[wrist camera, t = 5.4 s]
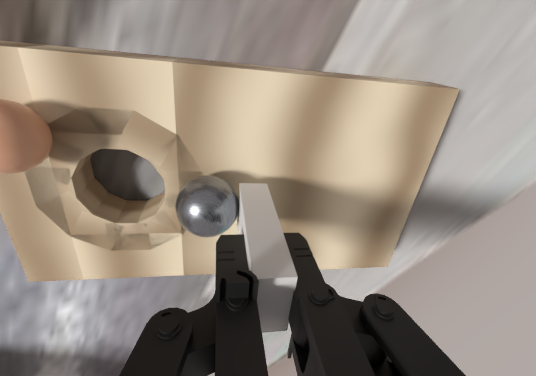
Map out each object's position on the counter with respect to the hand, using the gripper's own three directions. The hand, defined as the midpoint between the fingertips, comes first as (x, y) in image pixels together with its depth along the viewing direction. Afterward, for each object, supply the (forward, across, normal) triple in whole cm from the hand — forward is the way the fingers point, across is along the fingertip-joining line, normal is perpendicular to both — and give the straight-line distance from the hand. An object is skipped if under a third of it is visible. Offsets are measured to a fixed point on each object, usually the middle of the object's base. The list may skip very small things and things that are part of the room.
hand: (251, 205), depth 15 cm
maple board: (+4, -1, 0) cm, 4 cm away
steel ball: (0, -2, 0) cm, 2 cm away
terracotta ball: (0, -10, +3) cm, 11 cm away
